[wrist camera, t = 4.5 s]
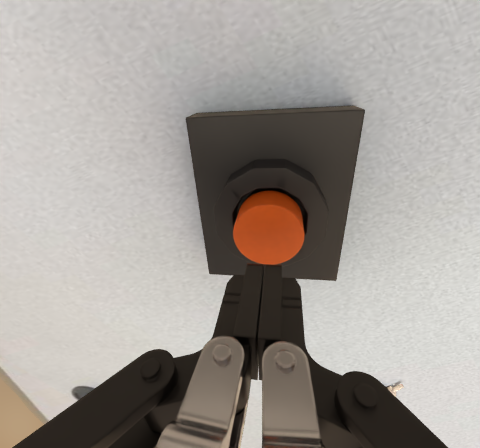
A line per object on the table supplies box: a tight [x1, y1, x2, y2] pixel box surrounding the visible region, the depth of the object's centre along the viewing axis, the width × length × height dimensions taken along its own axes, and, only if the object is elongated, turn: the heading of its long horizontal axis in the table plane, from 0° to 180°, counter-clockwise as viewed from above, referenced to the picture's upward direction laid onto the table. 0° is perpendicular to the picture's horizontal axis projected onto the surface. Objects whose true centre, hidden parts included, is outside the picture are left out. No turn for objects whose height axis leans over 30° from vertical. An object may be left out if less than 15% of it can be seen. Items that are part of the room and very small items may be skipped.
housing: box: [186, 106, 365, 281], centre depth 17 cm, size 12×10×4 cm
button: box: [233, 190, 304, 265], centre depth 15 cm, size 4×4×2 cm
